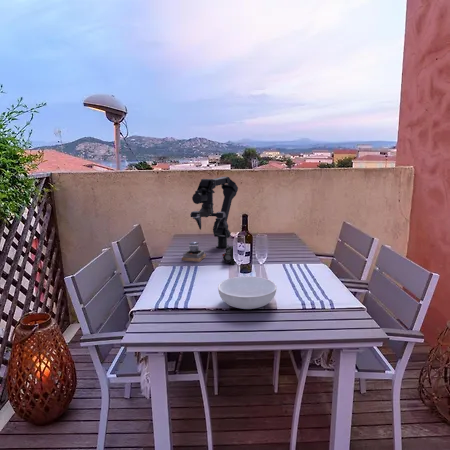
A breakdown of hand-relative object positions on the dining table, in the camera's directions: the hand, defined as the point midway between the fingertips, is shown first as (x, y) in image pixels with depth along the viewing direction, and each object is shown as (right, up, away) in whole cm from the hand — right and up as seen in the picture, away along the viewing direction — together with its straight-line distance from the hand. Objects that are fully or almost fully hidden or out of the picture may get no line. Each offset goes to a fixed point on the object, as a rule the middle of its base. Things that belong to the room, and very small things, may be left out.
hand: (208, 229), depth 190 cm
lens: (-7, -14, -9) cm, 18 cm away
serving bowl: (+17, -26, -66) cm, 73 cm away
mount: (-7, -15, -9) cm, 19 cm away
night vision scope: (+12, -16, -14) cm, 25 cm away
